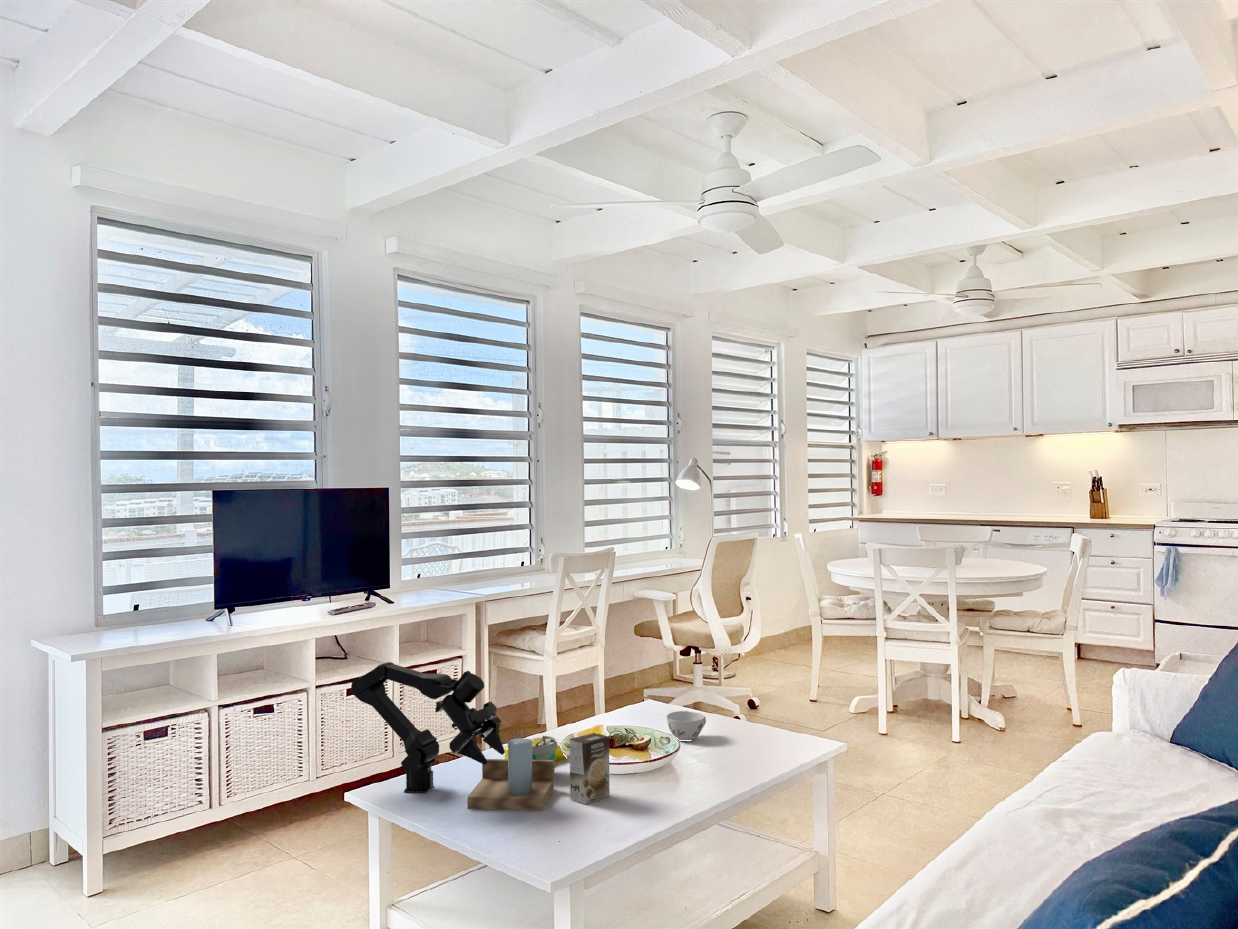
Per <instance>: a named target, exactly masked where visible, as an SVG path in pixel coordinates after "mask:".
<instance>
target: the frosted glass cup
mask: <svg viewBox="0 0 1238 929" xmlns="http://www.w3.org/2000/svg"><path fill="white" fill-rule="evenodd" d="M507 746H508V793H509V794H511V795H526V794H529V793H531V792H532V740H531V739H529V738H520V737H519V738H512V739H510V740H508V741H507Z"/></svg>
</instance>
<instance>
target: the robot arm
mask: <svg viewBox="0 0 1238 929" xmlns="http://www.w3.org/2000/svg"><path fill="white" fill-rule="evenodd" d="M388 680H389V681H392V682H395V683H398V684H401V685H405V686H408V687H409V688H412V689H413V688H414V689H417V690H418V691H419V692H420V694H422V695H423V696H425V697H427V698H429V699H431V700H437V699H439V698H442V697H444V698H443V699H442V700H438V701H436V702H435V713H439V712H441V711H444V713H445V714H446V716H448V718H449V719H450V720H451V722H452V724H451V725H450V726H451V727H452V728H453V729H455V728H456V729H458V730H459V732H458V734H456V735H455V736H454V738H453V739H452V740H451V741H450V742H449V749H450V751H451V752H452V754H455V753H456V754H457V755H462V756H464V757H467V758H469V759H472V760H474V761H476V762H478V763H480V764H481V765H482V764H484V765H485V764H486V763H487V760H486V759H487V758H486V756H485V755H484V754H483V751H481V749H480V747H479V746H478V741H477V737H479V738H482V741H483V742H484V743H485V744H486V745H488V746H489V747H491V749H493V750H494V751H496V752H497V753H498V754H500V755H501V756H503V755H505V747H504V745H503V743H502V740H501V739H502V738H501V736H500V728H501V726H502V725H501V724H502V723H503V722H502V720H501V719H500V718H499V716H497V713H496V712H497V709H498V708H497V706H496V705H495V704H494V703H493V702H492V701H489V702H488V701H487V702H486V703H483V706H482V707H483V708H481V709H478V710H477V709H476V708H475V707H472V708H470V707H469V705H468V704H470V703H472V701H474V700H475V698H476V697H477V696H478V695H479V694H480V693H481V692H482V691H483V690H484V688H485V682H484V680H483V679H482V678H481V677H479V676H478V675H477V674H474V673H472V672H471V671H470V670H467V671H464V672H463V673H462V674H461V676H460V677H459V679H454V678H452V677H451V676H450V675H448V674H446V673H424V672H422V671H418V670H415V669H411V668H408V667H405V666H401V665H398V664H395V663H393V662H391V661H386V662H384V663H381V664H378V665H377V666H376V667H374V669H372V670H370V671H368V672H367V673H365V674H364V675H361V676H358V677H356V678H354V679H353V680H352V682H351V689H350V691H351V693H352V695H353V696H354V697H355V698H357V699H358V700H359V701H360V702H361V703H363V704H366V705H369V706H370V707H373V708H374V710H375V711H376V712H377V714H379V716H380V717H381V718H382V719H383V720H384V721H385V723H386V724H388V726H389V727H390V728H391V729H392V731H393V732H394V733H395V734H396V735H397V736H398V737H399V739H401V741H402V742H403V744H404V750H405V751H404V752H405V753H406V757H405V758H404V759H403V760H402V761H401V762H400V763H401V764H400V765H401V768H402V770H403V771H405V772H406V773H405V777H406V778H405V780H406V781H405V786H406V788H405V789H404V790H403V792H404V793H427V792H428V791H429V790H430V789H431V788H432V787H433V786H434V771H433V770H432V764H434V763H435V762H436V759H437V757H438V756H439V753H440V744H439V742H438V741H437V740H438V738H437V737H436V736H434V735H433V733H432V732H431V730H429V729H428V728H427V729H424V730H422V731H421V730H419V729H418V728H417V727H416V726H415V725H414V723H412V722H411V720H410V719H409V718H408V717H407V716H406V715H405V714H404V712H403V711H402V710H401V709H400V708H399V707H398V706H397V705H396V703H395V702H394V701H393V700H392V699H391V698H390V697H389V695H388V694H387V693H386V685H385V683H386V682H387V681H388ZM451 692H452V693H451ZM450 693H451V694H450ZM467 703H468V704H467Z"/></svg>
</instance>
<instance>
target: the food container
mask: <svg viewBox="0 0 1238 929" xmlns="http://www.w3.org/2000/svg"><path fill="white" fill-rule="evenodd" d="M541 738H542V740H541V741H540V742H538V743H537V744H536V746H535V747H532V760H554V771H555V768H556V763H555V752H556V750H557V749H558V745H557V742H558V741H557V739H556V738H555V737H553V736H550V735H549V736H547V735H542V736H541Z"/></svg>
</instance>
